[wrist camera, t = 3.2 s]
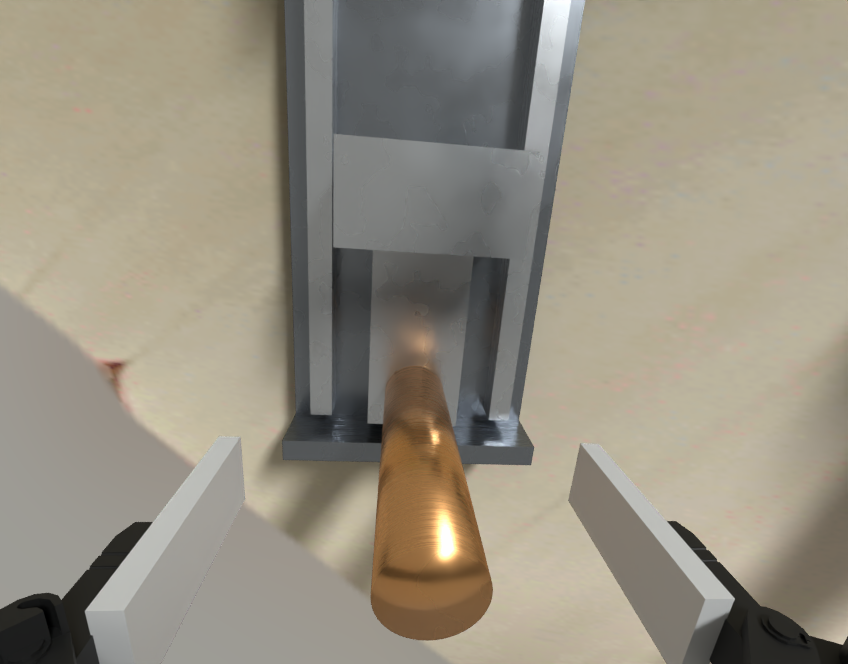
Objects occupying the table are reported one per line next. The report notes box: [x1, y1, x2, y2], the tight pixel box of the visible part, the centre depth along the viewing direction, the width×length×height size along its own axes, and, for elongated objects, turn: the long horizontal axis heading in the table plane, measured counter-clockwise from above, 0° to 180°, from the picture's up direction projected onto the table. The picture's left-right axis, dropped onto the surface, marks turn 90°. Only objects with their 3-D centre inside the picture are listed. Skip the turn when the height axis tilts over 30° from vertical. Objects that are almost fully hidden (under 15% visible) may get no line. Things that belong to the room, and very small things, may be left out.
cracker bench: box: [282, 0, 585, 465], centre depth 17 cm, size 36×14×9 cm, turn 176°
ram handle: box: [333, 134, 540, 640], centre depth 16 cm, size 14×8×14 cm, turn 176°
